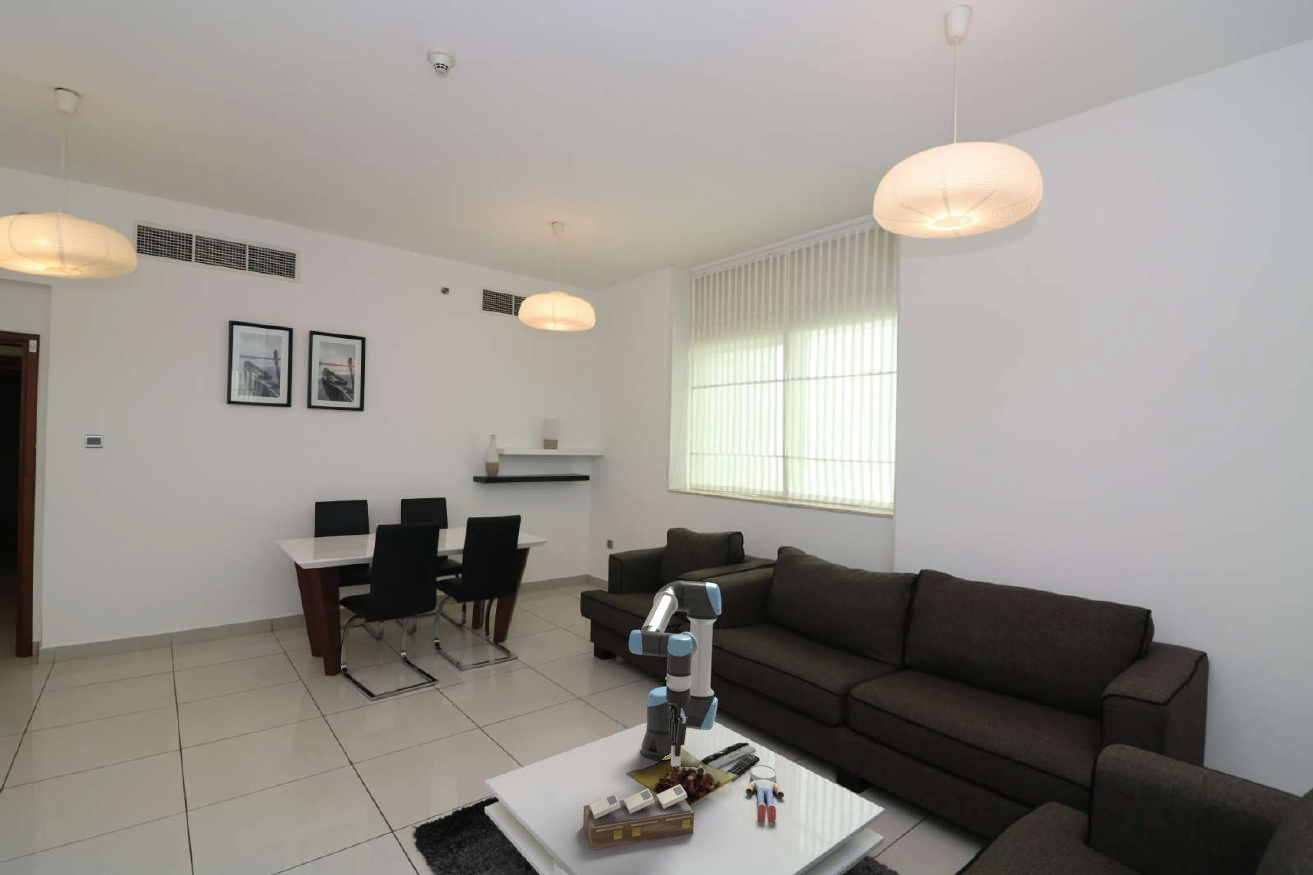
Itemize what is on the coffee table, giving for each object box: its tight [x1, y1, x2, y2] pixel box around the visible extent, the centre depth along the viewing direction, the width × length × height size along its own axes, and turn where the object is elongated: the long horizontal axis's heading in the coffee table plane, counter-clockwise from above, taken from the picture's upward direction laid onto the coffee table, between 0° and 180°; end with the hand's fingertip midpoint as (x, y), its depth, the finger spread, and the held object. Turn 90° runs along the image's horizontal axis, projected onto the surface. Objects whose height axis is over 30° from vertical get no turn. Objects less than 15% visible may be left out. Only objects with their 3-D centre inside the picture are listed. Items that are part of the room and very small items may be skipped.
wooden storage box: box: [582, 794, 695, 851], centre depth 186 cm, size 12×31×7 cm, turn 108°
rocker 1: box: [589, 792, 621, 819], centre depth 183 cm, size 6×8×2 cm
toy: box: [745, 764, 785, 822], centre depth 208 cm, size 6×13×30 cm
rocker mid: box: [623, 788, 655, 814], centre depth 186 cm, size 6×8×1 cm
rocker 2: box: [656, 783, 688, 809], centre depth 189 cm, size 6×8×2 cm
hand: (675, 765), depth 191 cm, fingers closed
